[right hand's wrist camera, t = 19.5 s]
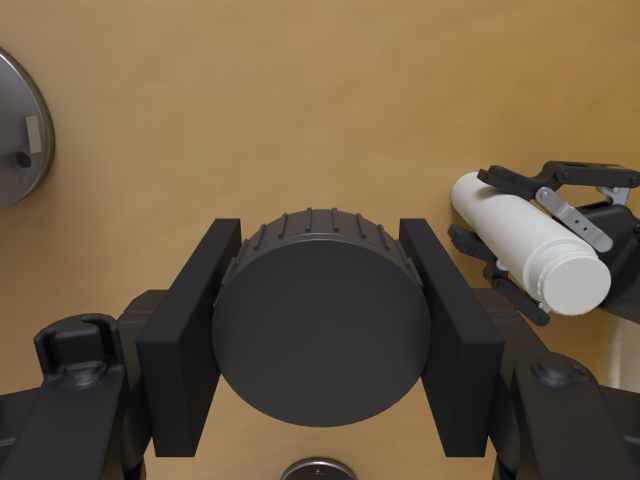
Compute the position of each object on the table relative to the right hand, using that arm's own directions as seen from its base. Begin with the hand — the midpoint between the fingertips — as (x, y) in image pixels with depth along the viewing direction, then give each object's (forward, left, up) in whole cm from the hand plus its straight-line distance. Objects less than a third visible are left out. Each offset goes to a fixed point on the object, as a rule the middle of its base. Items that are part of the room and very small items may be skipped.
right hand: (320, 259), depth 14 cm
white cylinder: (+11, -9, -26) cm, 30 cm away
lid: (0, 0, +4) cm, 4 cm away
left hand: (+9, -7, -20) cm, 22 cm away
